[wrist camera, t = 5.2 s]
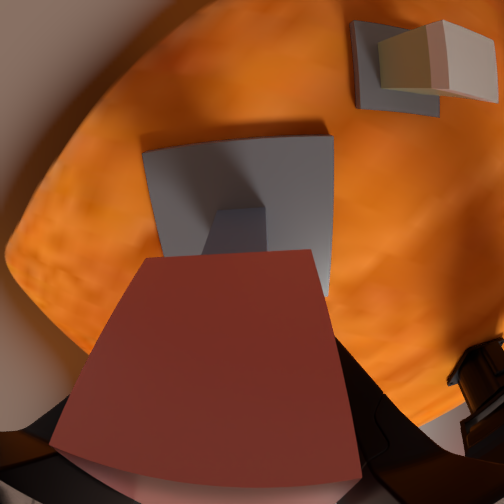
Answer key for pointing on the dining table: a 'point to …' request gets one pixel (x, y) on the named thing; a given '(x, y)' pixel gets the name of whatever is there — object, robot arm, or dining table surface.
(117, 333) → the red rectangular block
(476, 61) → the grey base with block
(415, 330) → the dining table surface
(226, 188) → the grey plate with post
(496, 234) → the dining table surface
